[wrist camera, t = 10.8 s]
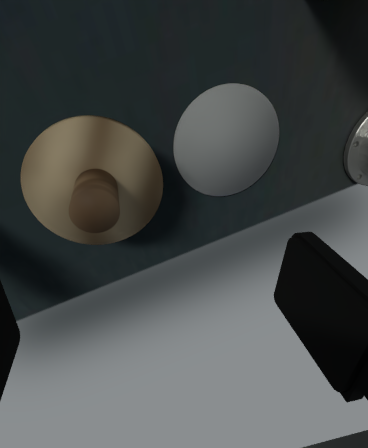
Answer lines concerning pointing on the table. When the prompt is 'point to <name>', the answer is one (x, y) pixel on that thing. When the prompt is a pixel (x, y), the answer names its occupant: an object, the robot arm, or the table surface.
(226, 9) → the table surface
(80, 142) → the lid
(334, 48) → the table surface
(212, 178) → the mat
